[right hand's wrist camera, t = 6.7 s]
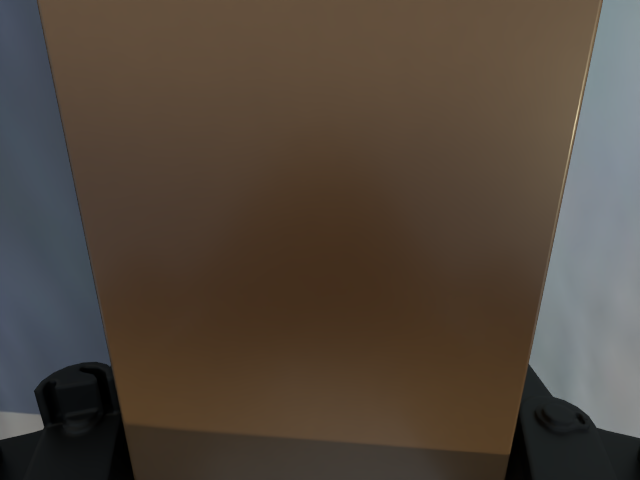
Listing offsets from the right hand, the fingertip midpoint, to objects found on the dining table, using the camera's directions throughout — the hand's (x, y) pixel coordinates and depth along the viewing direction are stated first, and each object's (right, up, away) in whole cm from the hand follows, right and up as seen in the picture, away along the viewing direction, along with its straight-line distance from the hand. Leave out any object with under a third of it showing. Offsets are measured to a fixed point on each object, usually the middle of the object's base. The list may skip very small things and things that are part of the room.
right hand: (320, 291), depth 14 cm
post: (0, +29, -10) cm, 31 cm away
